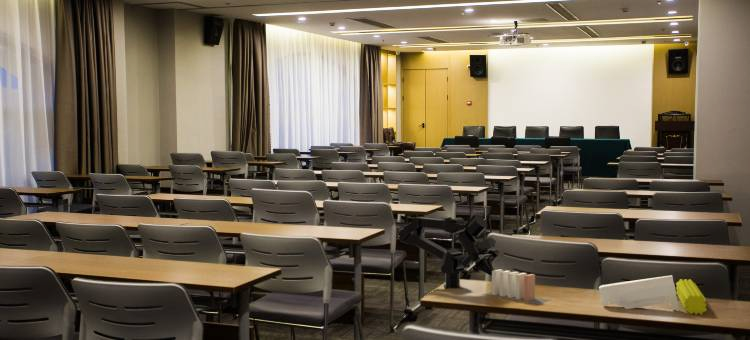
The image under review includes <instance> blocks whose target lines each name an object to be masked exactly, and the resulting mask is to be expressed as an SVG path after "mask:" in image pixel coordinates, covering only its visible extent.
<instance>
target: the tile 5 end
mask: <svg viewBox="0 0 750 340" xmlns="http://www.w3.org/2000/svg"><path fill="white" fill-rule="evenodd" d="M535 285H536V274H534V273H530V274H527V275H525V276H524V300H526V301H528V300H532V299H535V296H536V294H535V293H536V291H535V290H536V286H535Z"/></svg>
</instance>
